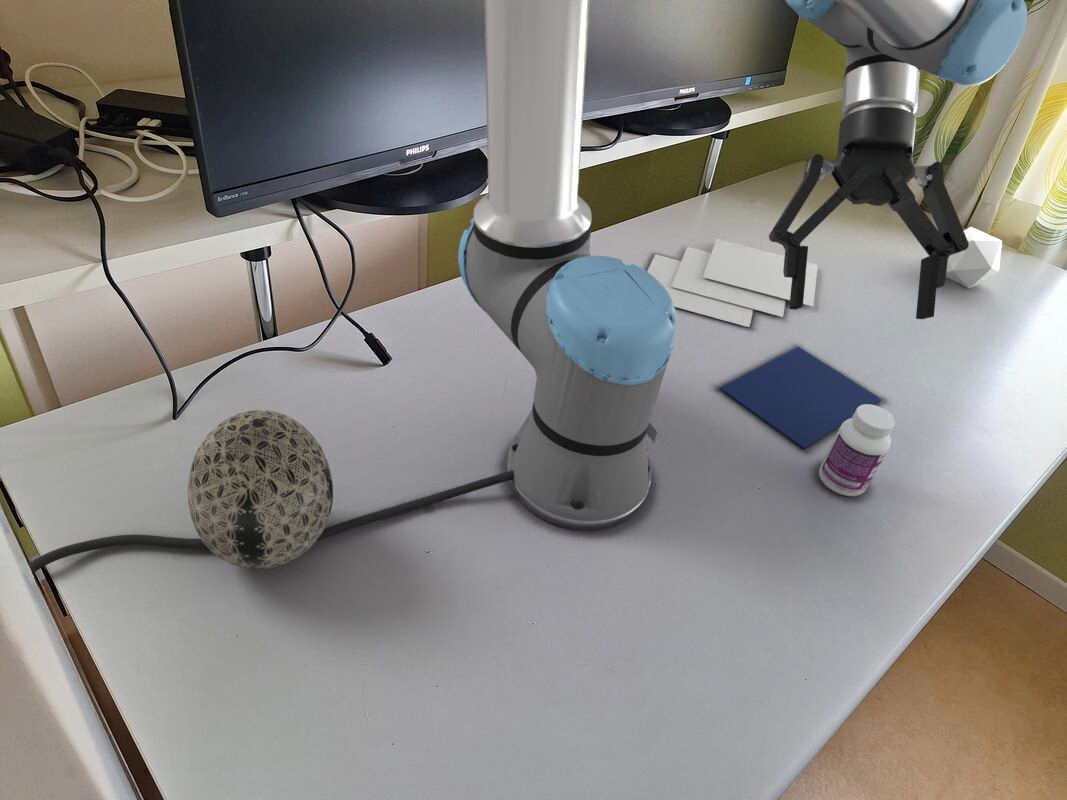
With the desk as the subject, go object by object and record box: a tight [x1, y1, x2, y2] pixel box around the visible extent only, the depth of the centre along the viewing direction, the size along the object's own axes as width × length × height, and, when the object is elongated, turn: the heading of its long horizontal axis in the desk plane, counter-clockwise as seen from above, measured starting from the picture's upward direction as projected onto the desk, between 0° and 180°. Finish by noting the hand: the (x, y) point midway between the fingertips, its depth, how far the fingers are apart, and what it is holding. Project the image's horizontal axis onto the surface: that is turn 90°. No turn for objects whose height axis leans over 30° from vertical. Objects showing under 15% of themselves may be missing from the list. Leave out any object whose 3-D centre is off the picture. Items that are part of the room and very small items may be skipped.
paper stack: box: [646, 238, 819, 328], centre depth 117 cm, size 23×25×1 cm
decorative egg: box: [187, 409, 334, 570], centre depth 65 cm, size 12×12×15 cm
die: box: [946, 226, 1003, 289], centre depth 124 cm, size 8×9×10 cm
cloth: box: [718, 346, 882, 450], centre depth 97 cm, size 17×13×1 cm
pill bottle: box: [818, 404, 896, 497], centre depth 82 cm, size 5×5×10 cm
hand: (859, 313), depth 82 cm, fingers open, 13 cm apart
